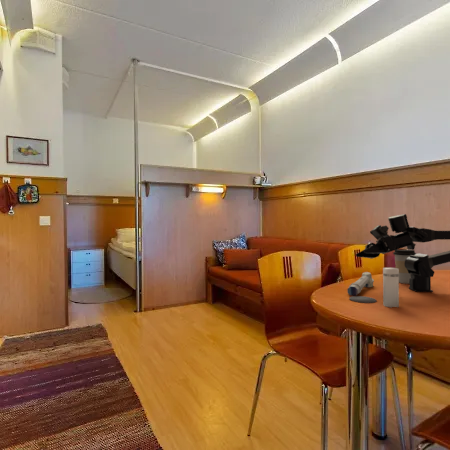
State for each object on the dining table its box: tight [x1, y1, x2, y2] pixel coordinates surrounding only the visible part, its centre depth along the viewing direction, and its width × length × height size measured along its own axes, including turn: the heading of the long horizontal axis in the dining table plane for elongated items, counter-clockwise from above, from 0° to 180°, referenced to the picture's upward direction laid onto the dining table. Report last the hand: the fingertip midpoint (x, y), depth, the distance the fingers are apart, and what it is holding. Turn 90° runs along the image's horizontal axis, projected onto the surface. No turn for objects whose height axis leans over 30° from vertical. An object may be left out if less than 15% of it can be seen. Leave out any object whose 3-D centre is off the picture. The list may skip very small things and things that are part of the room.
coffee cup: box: [392, 248, 417, 284], centre depth 143 cm, size 9×9×15 cm
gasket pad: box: [348, 295, 378, 304], centre depth 111 cm, size 9×9×1 cm
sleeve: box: [382, 267, 400, 308], centre depth 103 cm, size 5×5×12 cm
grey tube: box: [346, 271, 375, 297], centre depth 128 cm, size 5×7×25 cm
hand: (360, 253), depth 125 cm, fingers open, 9 cm apart
